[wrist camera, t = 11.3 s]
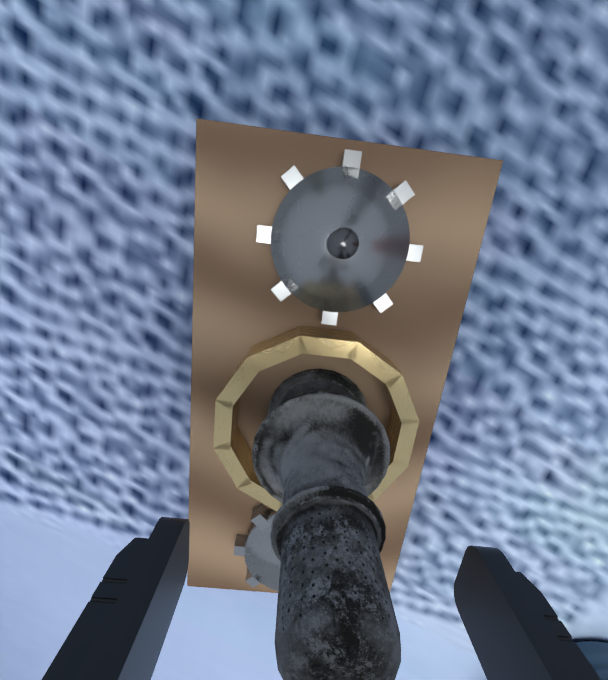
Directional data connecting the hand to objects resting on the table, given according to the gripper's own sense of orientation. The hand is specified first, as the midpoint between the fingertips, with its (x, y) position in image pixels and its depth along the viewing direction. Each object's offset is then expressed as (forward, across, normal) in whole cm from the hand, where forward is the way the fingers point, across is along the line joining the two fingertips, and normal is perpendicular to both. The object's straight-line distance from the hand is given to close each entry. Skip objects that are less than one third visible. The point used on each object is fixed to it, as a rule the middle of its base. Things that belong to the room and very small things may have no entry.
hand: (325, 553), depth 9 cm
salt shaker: (+8, 0, 0) cm, 8 cm away
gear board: (+9, 0, 0) cm, 9 cm away
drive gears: (+8, 0, 0) cm, 8 cm away
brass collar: (+8, 0, 0) cm, 8 cm away
